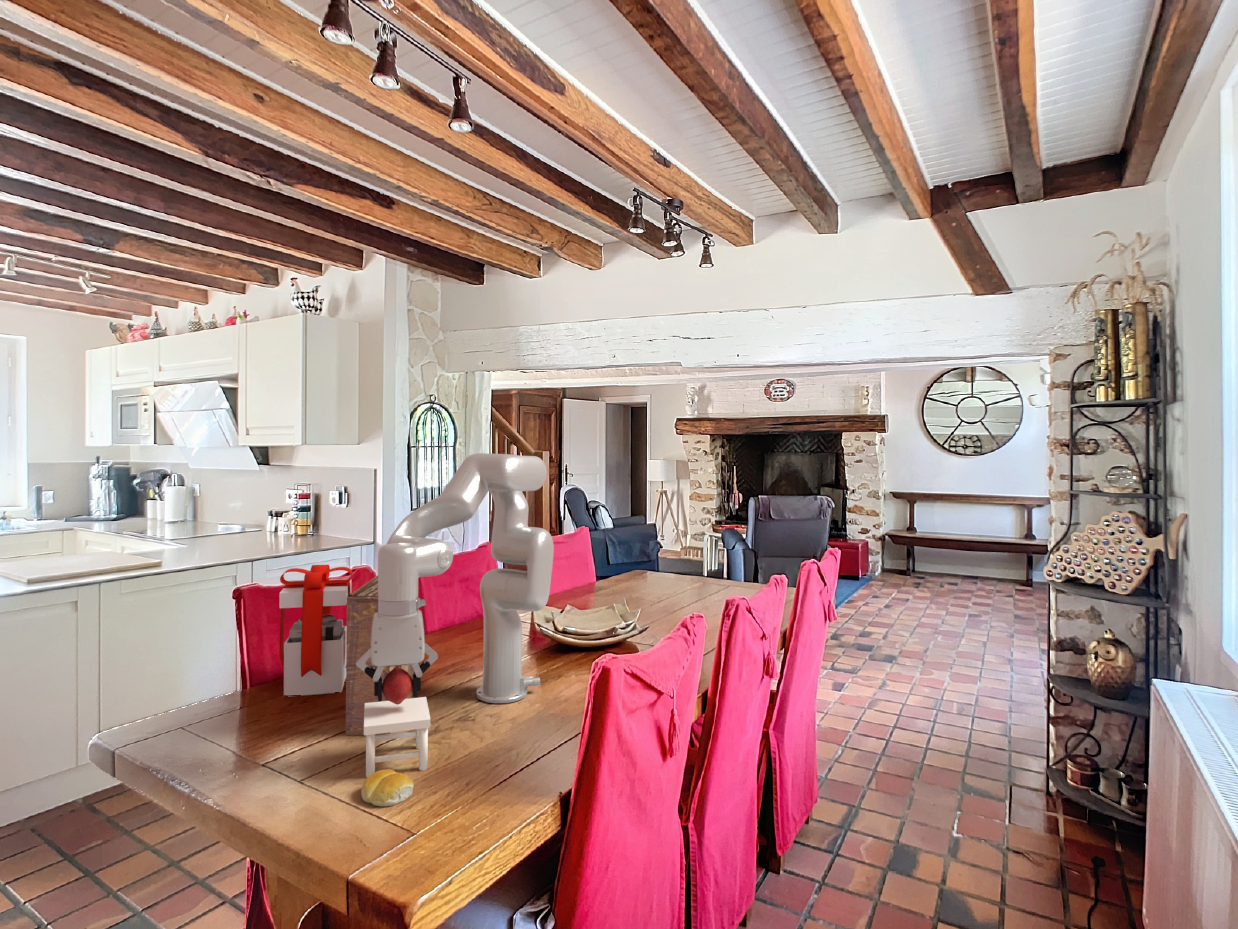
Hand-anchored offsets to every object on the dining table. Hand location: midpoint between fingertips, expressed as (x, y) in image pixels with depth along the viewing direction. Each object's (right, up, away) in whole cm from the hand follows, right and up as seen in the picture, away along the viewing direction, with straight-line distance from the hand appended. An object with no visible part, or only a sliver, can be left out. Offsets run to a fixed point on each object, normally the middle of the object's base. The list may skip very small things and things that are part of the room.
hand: (397, 696), depth 135 cm
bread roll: (+2, -14, -12) cm, 19 cm away
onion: (0, -2, 0) cm, 2 cm away
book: (-11, -12, +24) cm, 29 cm away
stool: (0, -13, 0) cm, 13 cm away
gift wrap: (-34, -11, +40) cm, 54 cm away
